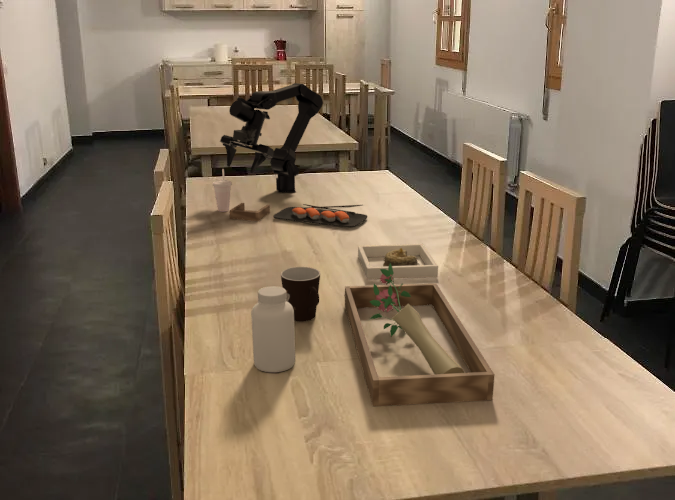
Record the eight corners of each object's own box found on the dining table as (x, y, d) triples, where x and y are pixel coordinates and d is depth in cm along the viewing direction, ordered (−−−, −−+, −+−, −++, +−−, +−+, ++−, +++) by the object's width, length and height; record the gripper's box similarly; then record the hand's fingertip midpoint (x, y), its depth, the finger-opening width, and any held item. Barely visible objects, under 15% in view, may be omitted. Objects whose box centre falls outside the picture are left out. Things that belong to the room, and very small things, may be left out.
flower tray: (435, 303, 164) (436, 283, 162) (492, 399, 124) (494, 374, 122) (344, 306, 162) (344, 286, 160) (372, 406, 122) (373, 380, 120)
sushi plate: (269, 222, 228) (269, 211, 227) (308, 200, 254) (308, 189, 253) (354, 232, 218) (354, 220, 216) (385, 208, 244) (385, 197, 243)
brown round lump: (395, 278, 182) (394, 258, 180) (375, 266, 190) (373, 247, 188) (427, 268, 186) (426, 249, 184) (406, 258, 194) (405, 239, 192)
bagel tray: (422, 254, 197) (422, 243, 196) (437, 277, 180) (438, 266, 179) (357, 256, 195) (358, 245, 194) (367, 279, 178) (367, 268, 177)
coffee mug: (281, 308, 161) (280, 267, 158) (319, 307, 162) (319, 266, 159) (282, 330, 150) (280, 286, 147) (322, 329, 151) (322, 285, 148)
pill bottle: (271, 350, 141) (269, 280, 137) (303, 361, 137) (302, 289, 132) (244, 366, 135) (241, 293, 130) (277, 378, 131) (275, 302, 126)
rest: (241, 210, 239) (241, 202, 238) (269, 213, 236) (269, 204, 235) (229, 218, 230) (229, 210, 229) (258, 221, 227) (258, 212, 226)
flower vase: (427, 423, 130) (355, 313, 158) (486, 395, 133) (404, 292, 160) (419, 379, 123) (344, 273, 151) (481, 351, 126) (396, 251, 153)
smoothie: (229, 213, 236) (227, 171, 231) (211, 212, 237) (208, 170, 233) (235, 208, 242) (233, 167, 237) (217, 207, 243) (215, 166, 239)
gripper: (219, 113, 241) (205, 157, 241) (267, 125, 235) (253, 170, 235) (234, 124, 252) (220, 165, 251) (280, 135, 246) (266, 178, 245)
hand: (239, 169), depth 245 cm, fingers open, 9 cm apart
